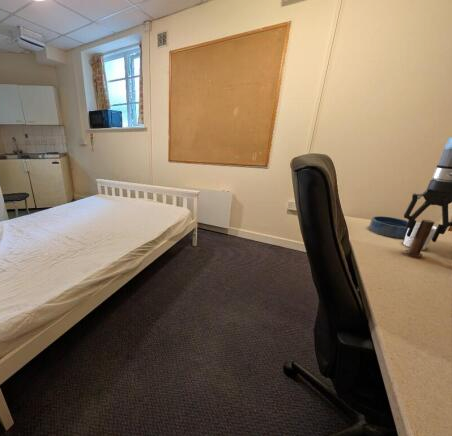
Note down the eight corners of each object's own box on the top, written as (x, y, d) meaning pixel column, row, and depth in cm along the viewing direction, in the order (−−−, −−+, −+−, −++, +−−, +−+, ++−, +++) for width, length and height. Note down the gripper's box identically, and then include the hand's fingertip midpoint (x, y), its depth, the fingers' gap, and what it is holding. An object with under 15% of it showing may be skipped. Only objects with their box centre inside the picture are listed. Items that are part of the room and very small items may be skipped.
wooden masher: (421, 255, 90) (437, 220, 85) (422, 259, 87) (439, 224, 81) (403, 251, 93) (418, 217, 88) (404, 255, 90) (419, 221, 85)
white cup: (426, 252, 92) (437, 230, 89) (400, 245, 98) (408, 225, 94) (427, 246, 97) (437, 225, 93) (402, 240, 103) (410, 220, 99)
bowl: (409, 232, 112) (414, 221, 110) (411, 242, 101) (417, 230, 99) (369, 224, 122) (372, 214, 120) (367, 232, 111) (371, 221, 109)
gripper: (409, 178, 83) (387, 234, 91) (495, 185, 70) (461, 249, 79) (408, 176, 88) (387, 228, 96) (488, 182, 75) (456, 242, 84)
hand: (420, 238), depth 87 cm, fingers open, 6 cm apart
